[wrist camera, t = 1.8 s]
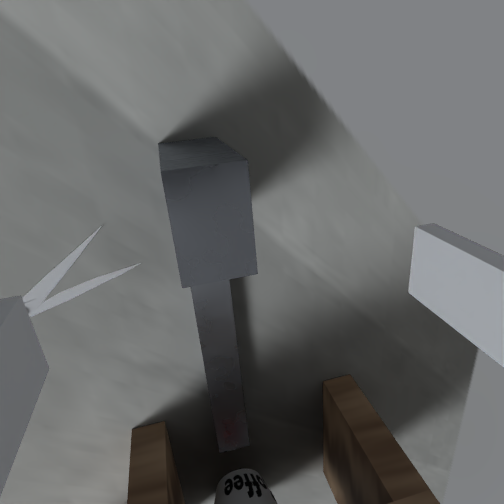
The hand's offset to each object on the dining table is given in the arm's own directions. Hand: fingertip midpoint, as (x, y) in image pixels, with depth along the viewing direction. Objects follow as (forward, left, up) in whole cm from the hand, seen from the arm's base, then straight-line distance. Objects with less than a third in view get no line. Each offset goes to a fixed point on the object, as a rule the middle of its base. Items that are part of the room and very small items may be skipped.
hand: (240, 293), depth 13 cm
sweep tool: (+11, 0, -16) cm, 20 cm away
